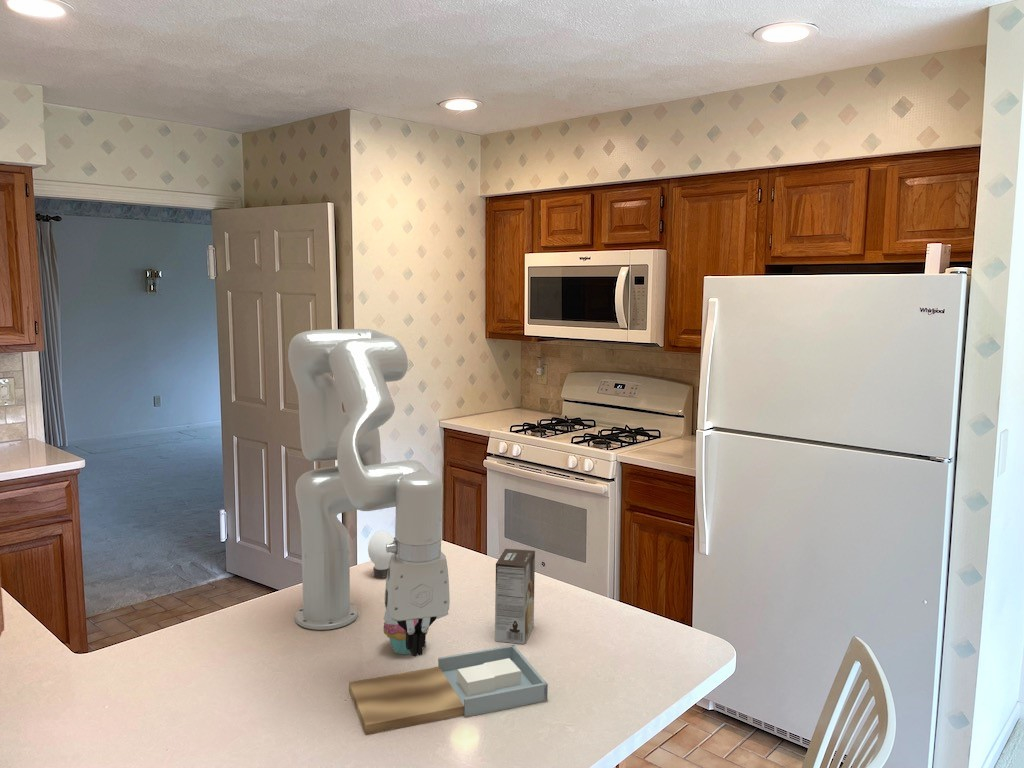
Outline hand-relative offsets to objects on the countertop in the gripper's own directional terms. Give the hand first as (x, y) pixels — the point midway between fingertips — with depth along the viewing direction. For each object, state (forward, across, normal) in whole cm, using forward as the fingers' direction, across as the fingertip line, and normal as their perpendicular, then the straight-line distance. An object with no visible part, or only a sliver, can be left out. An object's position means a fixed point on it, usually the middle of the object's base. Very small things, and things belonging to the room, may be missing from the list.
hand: (415, 651), depth 133 cm
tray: (+8, +13, -2) cm, 16 cm away
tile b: (+7, +16, -1) cm, 17 cm away
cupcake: (+9, +3, +17) cm, 20 cm away
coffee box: (+9, +25, +16) cm, 31 cm away
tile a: (+8, +11, -1) cm, 13 cm away
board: (+8, -2, -2) cm, 8 cm away
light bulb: (+11, +7, +55) cm, 57 cm away
